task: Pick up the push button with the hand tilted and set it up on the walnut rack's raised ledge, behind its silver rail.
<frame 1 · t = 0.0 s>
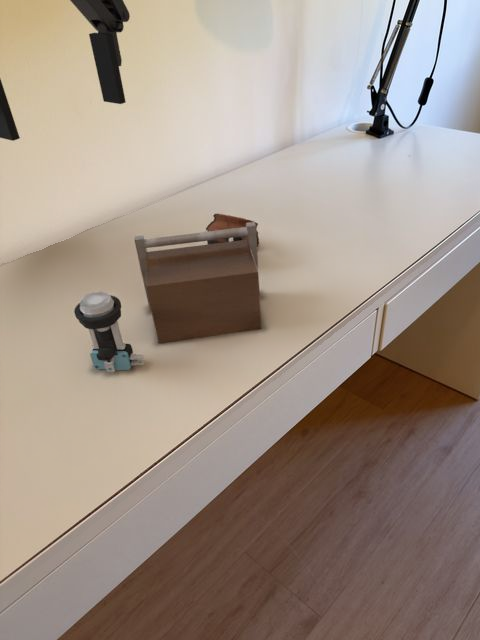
hand: (65, 118, 54), 28 cm above the table, tool pointing down, fingers open, 13 cm apart
pottery mug: (234, 258, 88), on the table
rack: (207, 317, 75), on the table
push button: (120, 366, 67), on the table
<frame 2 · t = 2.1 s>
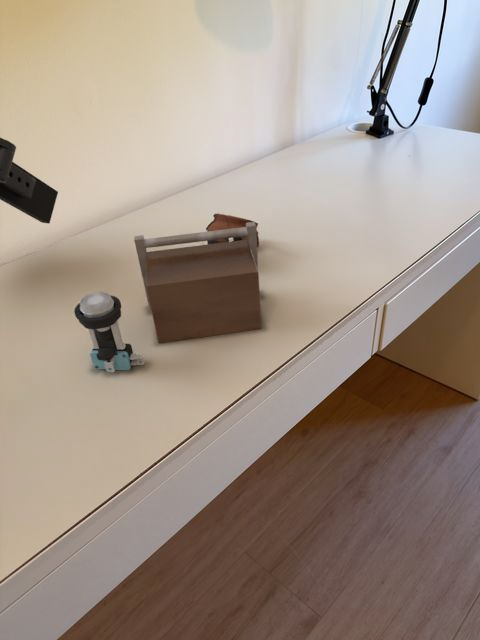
nothing on the table moved.
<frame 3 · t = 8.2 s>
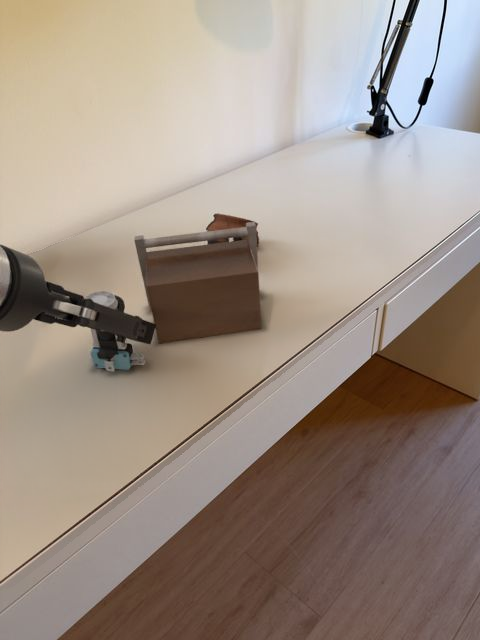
hand: (131, 328, 68), 3 cm above the table, tool tilted 45°, fingers closed on push button, 5 cm apart
push button: (119, 365, 67), on the table, touching gripper
everything else where it was.
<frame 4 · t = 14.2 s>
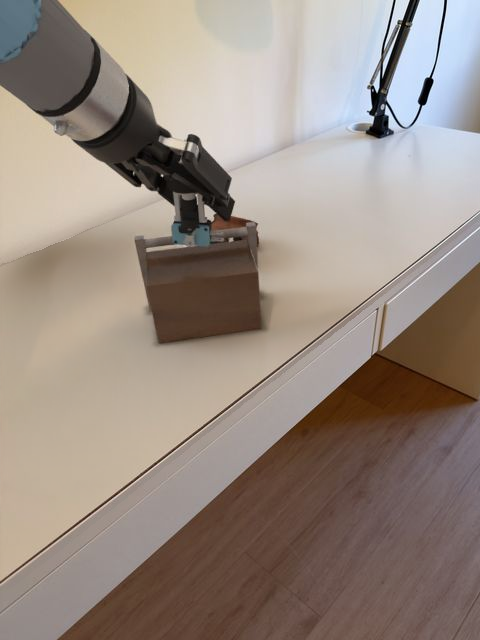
hand: (208, 207, 68), 15 cm above the table, tool tilted 45°, fingers closed on push button, 5 cm apart
push button: (197, 243, 67), point 12 cm above the table, touching gripper
everything else where it was.
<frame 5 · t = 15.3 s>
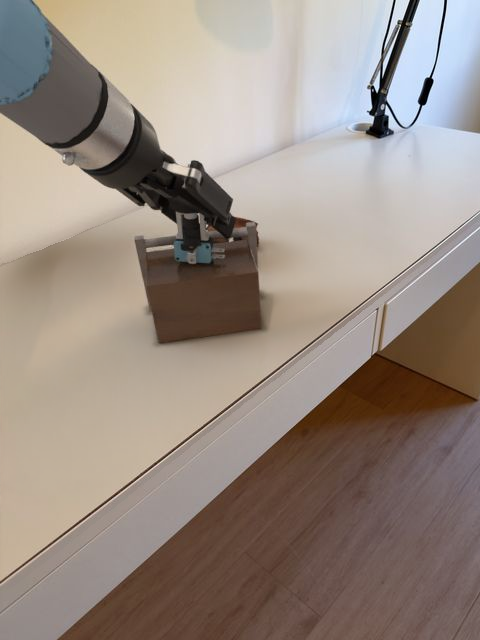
hand: (210, 224, 69), 12 cm above the table, tool tilted 45°, fingers closed on push button, 5 cm apart
push button: (199, 260, 69), point 9 cm above the table, touching gripper
everything else where it was.
when the fingers open (13 cm above the table, at t = 20.3 s): push button drops 1 cm, resting on rack.
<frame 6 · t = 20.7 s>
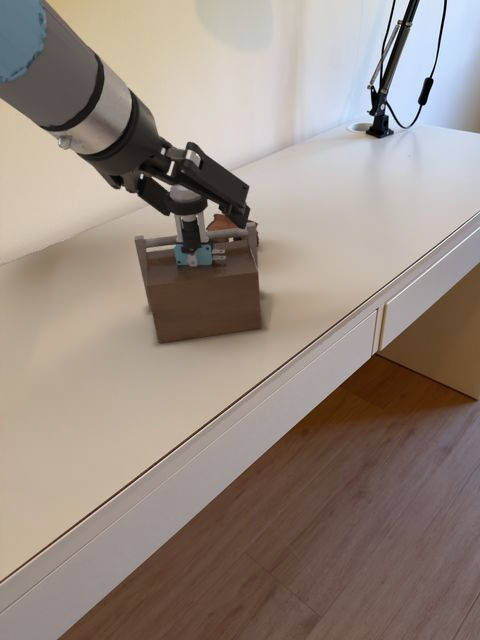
hand: (206, 212, 67), 15 cm above the table, tool tilted 45°, fingers open, 10 cm apart
push button: (200, 263, 69), point 9 cm above the table, touching rack
everything else where it was.
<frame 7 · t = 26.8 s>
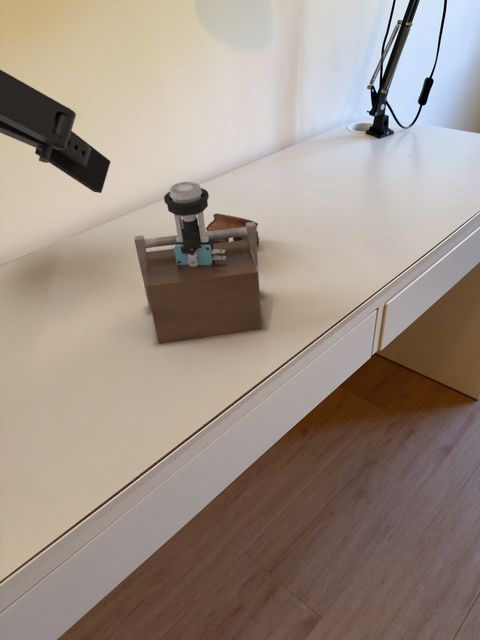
hand: (39, 167, 45), 28 cm above the table, tool tilted 45°, fingers open, 13 cm apart
nothing on the table moved.
at the end: push button inside the target area on the rack (0.2 cm from its centre), point 8.8 cm above the rack's base; push button tilted 0° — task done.
